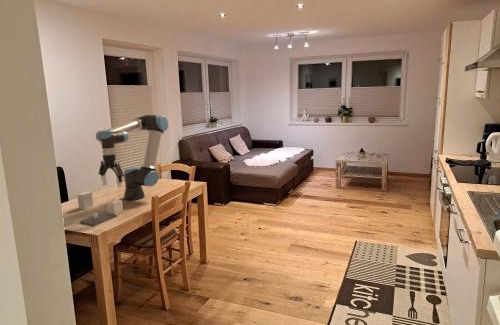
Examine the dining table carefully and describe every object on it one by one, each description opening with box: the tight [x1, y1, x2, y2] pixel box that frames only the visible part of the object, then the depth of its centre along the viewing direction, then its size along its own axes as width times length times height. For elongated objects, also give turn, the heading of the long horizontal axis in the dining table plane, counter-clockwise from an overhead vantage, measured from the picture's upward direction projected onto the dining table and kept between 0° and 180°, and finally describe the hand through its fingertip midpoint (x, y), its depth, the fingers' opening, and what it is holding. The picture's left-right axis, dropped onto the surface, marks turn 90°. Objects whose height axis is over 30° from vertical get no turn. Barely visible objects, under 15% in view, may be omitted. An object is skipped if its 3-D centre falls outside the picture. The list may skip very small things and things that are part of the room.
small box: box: [77, 190, 94, 210], centre depth 247 cm, size 8×6×10 cm
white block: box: [105, 199, 124, 216], centre depth 235 cm, size 7×7×8 cm
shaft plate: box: [79, 211, 118, 227], centre depth 222 cm, size 18×12×6 cm, turn 154°
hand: (112, 186), depth 232 cm, fingers open, 13 cm apart
